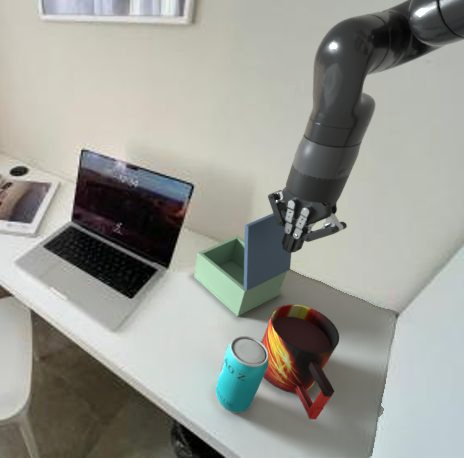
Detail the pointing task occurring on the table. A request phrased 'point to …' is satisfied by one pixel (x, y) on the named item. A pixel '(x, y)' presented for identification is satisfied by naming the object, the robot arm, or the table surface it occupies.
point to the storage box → (232, 277)
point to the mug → (300, 353)
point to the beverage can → (241, 373)
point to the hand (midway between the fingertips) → (289, 249)
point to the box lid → (264, 251)
